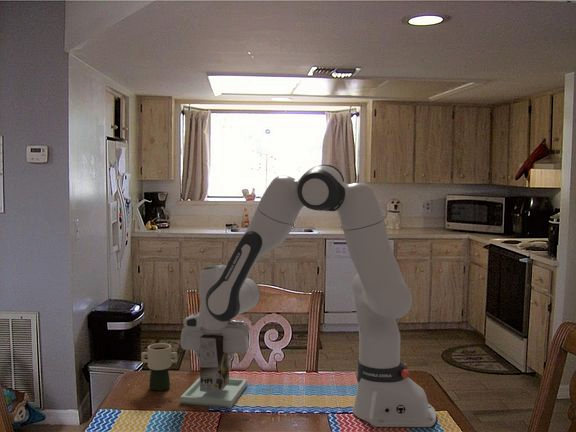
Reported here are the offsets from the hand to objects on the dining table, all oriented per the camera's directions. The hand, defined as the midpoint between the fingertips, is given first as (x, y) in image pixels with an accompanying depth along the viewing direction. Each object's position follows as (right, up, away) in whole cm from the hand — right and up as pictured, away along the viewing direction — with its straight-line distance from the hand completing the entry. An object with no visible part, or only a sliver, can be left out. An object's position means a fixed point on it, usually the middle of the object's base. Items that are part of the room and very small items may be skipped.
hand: (214, 365), depth 172 cm
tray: (0, -9, +1) cm, 9 cm away
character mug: (-17, -9, +5) cm, 20 cm away
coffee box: (0, -7, 0) cm, 7 cm away
